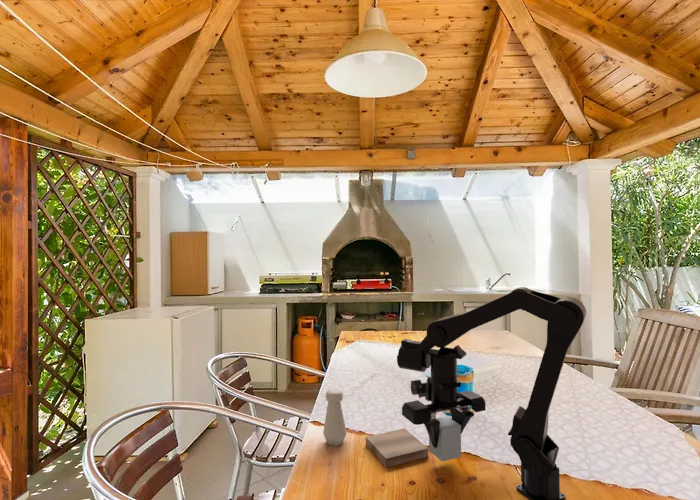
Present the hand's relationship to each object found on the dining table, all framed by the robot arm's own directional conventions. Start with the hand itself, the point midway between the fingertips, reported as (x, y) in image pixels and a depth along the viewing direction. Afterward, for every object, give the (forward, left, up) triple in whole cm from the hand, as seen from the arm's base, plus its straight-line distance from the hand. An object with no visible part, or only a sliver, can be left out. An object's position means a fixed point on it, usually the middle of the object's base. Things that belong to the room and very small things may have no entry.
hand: (444, 444), depth 90 cm
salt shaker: (+20, +19, -5) cm, 28 cm away
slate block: (0, 0, -2) cm, 2 cm away
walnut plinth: (+10, +7, -5) cm, 13 cm away
